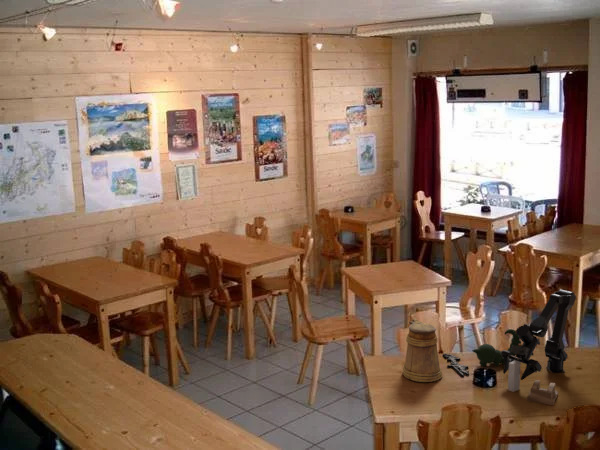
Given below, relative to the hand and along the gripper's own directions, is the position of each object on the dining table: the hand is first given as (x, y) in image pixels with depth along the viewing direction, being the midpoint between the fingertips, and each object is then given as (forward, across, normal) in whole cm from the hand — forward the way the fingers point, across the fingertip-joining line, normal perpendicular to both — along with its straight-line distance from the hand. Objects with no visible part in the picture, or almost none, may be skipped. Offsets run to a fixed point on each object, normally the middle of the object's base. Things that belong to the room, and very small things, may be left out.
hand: (512, 376), depth 323 cm
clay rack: (+2, +13, +8) cm, 15 cm away
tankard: (+17, -40, -7) cm, 44 cm away
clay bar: (+4, 0, +6) cm, 7 cm away
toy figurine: (-8, -23, +18) cm, 31 cm away
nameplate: (+3, -35, +7) cm, 36 cm away
